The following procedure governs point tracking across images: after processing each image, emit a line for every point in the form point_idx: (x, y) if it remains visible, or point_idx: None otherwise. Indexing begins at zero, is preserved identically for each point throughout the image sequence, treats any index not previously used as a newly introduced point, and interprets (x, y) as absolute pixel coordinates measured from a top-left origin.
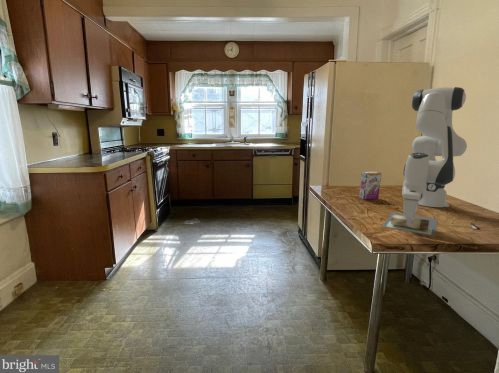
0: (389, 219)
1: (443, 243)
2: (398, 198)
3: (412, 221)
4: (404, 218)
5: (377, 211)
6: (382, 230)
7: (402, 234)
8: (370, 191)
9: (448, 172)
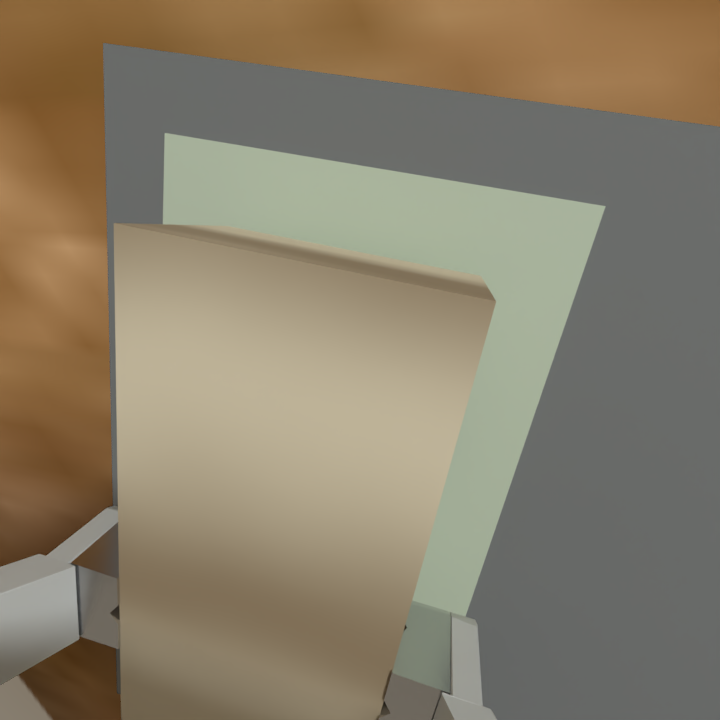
0: None
1: (34, 689)
2: None
3: (129, 642)
4: (195, 546)
5: None
6: (12, 84)
7: (32, 377)
8: None
9: None
